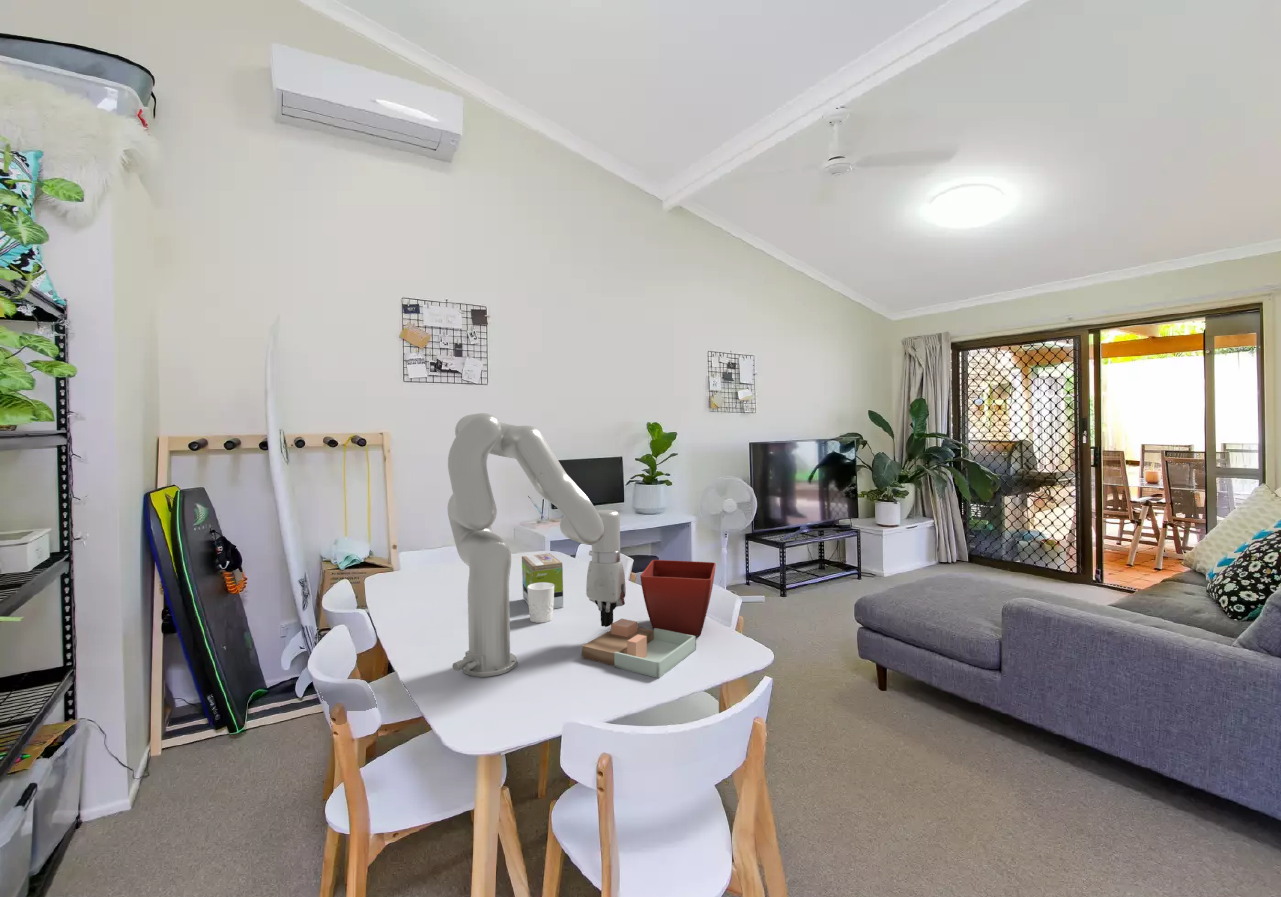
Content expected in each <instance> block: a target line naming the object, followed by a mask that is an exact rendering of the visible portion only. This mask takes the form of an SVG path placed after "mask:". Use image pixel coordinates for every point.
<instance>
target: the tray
mask: <svg viewBox="0 0 1281 897" xmlns="http://www.w3.org/2000/svg"><path fill="white" fill-rule="evenodd" d="M695 651H697V636H693V635H688V634H683V633H678V632H673V631H668V630H663V629H658V628H654V640H652V641H651V642H649V643H648V644H647V657H645V658H641V657H636V656H632V655H628V654H624V653H619V652H614V662H615V666H614V668H616V669H620V670H625V671H628V672H631V673H636V674H641V675H645V676H648V677H652V678H656V679H660V678H661V677H663V676H664V675H665V674H666V673H668V672H669V671H671V670H672V669H673V668H675V666H677V665H678V664H680V663H681V662H682V661H684V660H685V659H687V657H688V656H690V655H691V654H693V653H694V652H695Z"/></svg>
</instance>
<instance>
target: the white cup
mask: <svg viewBox="0 0 1281 897" xmlns="http://www.w3.org/2000/svg"><path fill="white" fill-rule="evenodd" d="M527 590H528V603H529V605H528V612H529V621H530V622H532V623H537V624H538V623H540V624H542V623H547V622H551V621H552V620H553V619H554V618H553V617H554V616H553V615H554V609H553V606H554V584H552V583H546V582H541V583H533V584H530V585H528V586H527Z"/></svg>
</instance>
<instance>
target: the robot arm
mask: <svg viewBox="0 0 1281 897" xmlns="http://www.w3.org/2000/svg"><path fill="white" fill-rule="evenodd" d="M454 428H455V429H454V436H455V437H454V439H453V441H452V444H451V445H450V449H449V452H448V456H447V469H448V476H449V479H450V485H451V490H452V494H451V496H450V497H449V500H448V502H447V516H448V520H449V524H450V528H451V532H452V535H453V539H454V540H453V541H454V544H455V548H456V551H457V553H458V556H459V558H460V559H461V561H462V562H463V563H464V564H465V565H466V566H468V567H469V573H468V574H469V575H468V583H467V615H468V616H467V618H468V619H467V620H468V621H467V622H468V623H467V625H468V627H467V628H468V650H467V651H465V653H464V654H465V656H464V657H462V659H460V660H457V661H454V662H453V663H452V665H451V666H452V669H453V671H454V672H459V671H461V670H462V672H464V673H465V674H466V675H469V676H472V677H481V678H486V677H494V676H499V675H502V674H505V673H508V672H510V671H512V670H513V669H514V668H515V667H516V666H517V664H518V657H517V656H516V655H515V654H513V653H511V627H510V626H511V624H510V623H511V622H510V619H511V618H510V617H511V616H510V614H511V613H510V611H511V610H510V575H511V567H512V551H511V548H510V546H509V544H508V542H507V541H506V540H505V539H504V538H503V537H501V536H500V535H497V534H496V533H493V529H492V525H493V524H494V522H495V520H496V517H497V513H498V512H497V511H498V510H497V504H496V501H495V498H494V497H495V496H494V494H493V490H492V489H493V488H492V485H491V483H490V478H489V473H488V466H487V465H488V463H487V461H488V458H489V455H495V456H498V457H503V458H509V459H515V460H516V461H517V463H518V464H519V465H520V467H521V469H522V470H523V472H524V473H525V475H526V476H527V478H528V479H529V481H530V482H531V484H532V486H533V487H534V489H535V490H536V492H537V493H538V494H539V495H540V496H541V497H542V498H544V499H545V500H546V501H547V502H549V503H550V504H552V505H554V506H555V507H556V508H557V509H558V511H560V513H562V515H563V517H562V518H561V519H560V522H559V528H560V532H561V533H562V535H563V536H565V537H566V538H567V539H570V540H571V541H575V542H577V543H580V544H582V545H587V546H591V550H589V552H588V555H589V556H591V560H590V561H589V563H588V568H587V572H586V587H585V588H586V590H585V591H586V593H585V594H586V597H587V598H588V600H589V601H590V602H592V603H595V605H596V606H597V608H598V611H599V612H600V627H605V628H608V627H609V626H610V627H611V624H612V623H614V610H616V608H618V607H622V606H624V605H625V604H626V602H625V598H626V588H627V587H626V578H625V570H624V569H625V568H624V565H623V562H621V521H620V520H621V517H620V513H619V512H618V511H617V510H614V509H599V510H597V508H596V507H595V506H594V504H593V503H592V501H591V500H590V498H589V497H588V496H587V494H586V493H585V492H584V491H583V490H582V489H581V488H580V487H579V486H578V485H577V483H576V482H575V481H574V480H573V479H572V478H571V476H570V475H569V474H567V472H566V471H565V469H564V467H563V465H562V464H561V463H560V461H559V460H558V458H557V456H556V455H555V453H554V451H553V450H552V448H551V446H550V445H549V443H548V441H547V440H546V438H545V436H544V435H543V433H542V432H541V431H540V430H539V429H537V428H536V427H534V426H531V425H514V424H510V423H505V422H500V421H499V419H498V418H497V417H496V416H494V415H492V414H489V413H484V412H483V413H482V412H481V413H479V412H478V413H474V414H473V413H471V414H469V415H465V416H462V417H461V418H460V419H459V420H458V421H457V423H456V425H455V427H454Z"/></svg>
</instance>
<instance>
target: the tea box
mask: <svg viewBox="0 0 1281 897" xmlns="http://www.w3.org/2000/svg"><path fill="white" fill-rule="evenodd" d="M521 570H522V571H521V573H522V574H521V576H522V582H521V583H522V598H523V600H524V601H525V602H526V604H527V605H528V606H529V603H528V590H527V586H528V585H530V584H533V583H541V582H546V583H552V584H554V606H553V610H556V609H559V608H560V609H561V608H564V579H563V578H564V576H563V571H564V570H563V561H561V560H559V559H558V558H557V557H555V556H554V555H552V554H551V553H547V552H546V553H539V554H532V555H522V556H521Z"/></svg>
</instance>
